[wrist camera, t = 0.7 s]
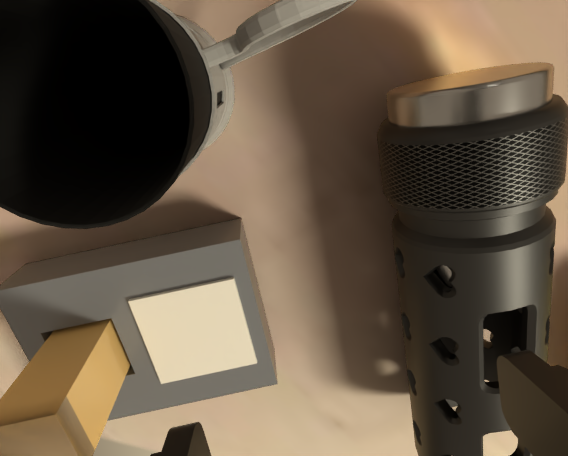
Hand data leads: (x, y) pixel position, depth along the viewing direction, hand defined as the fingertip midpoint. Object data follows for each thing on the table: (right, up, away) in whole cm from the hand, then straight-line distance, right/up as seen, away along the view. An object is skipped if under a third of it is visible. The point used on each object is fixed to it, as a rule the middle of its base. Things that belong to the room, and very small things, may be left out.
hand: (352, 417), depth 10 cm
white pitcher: (-7, +15, +15) cm, 22 cm away
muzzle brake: (+10, +2, +21) cm, 23 cm away
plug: (-16, -2, +20) cm, 25 cm away
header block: (-12, -1, +20) cm, 23 cm away
